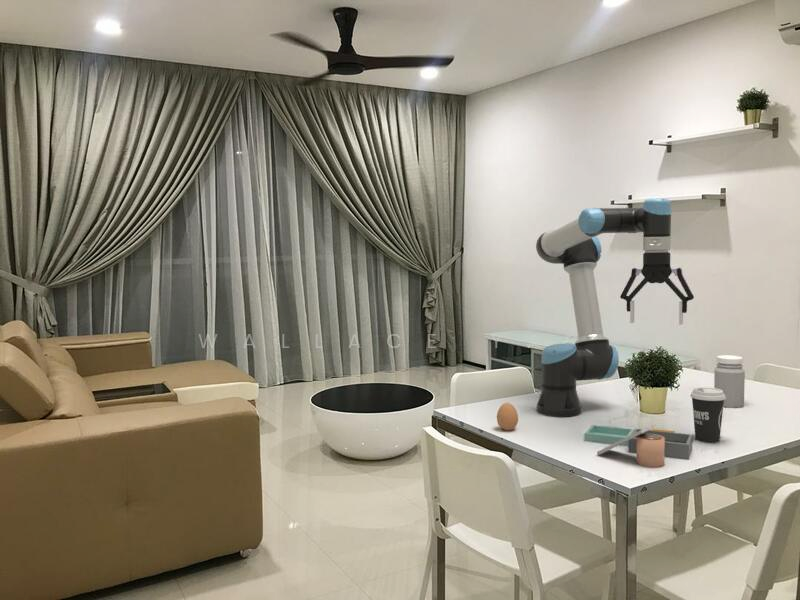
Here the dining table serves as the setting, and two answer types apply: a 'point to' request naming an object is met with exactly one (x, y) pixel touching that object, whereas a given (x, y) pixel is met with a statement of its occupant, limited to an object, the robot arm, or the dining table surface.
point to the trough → (607, 434)
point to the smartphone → (625, 439)
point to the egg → (507, 416)
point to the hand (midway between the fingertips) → (656, 323)
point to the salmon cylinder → (650, 450)
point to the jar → (730, 380)
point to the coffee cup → (707, 413)
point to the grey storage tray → (669, 443)
